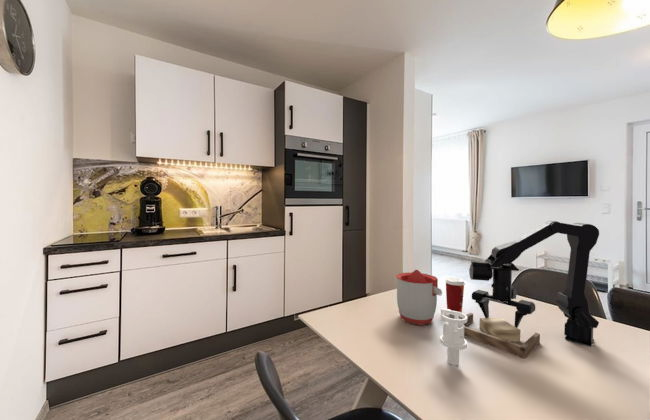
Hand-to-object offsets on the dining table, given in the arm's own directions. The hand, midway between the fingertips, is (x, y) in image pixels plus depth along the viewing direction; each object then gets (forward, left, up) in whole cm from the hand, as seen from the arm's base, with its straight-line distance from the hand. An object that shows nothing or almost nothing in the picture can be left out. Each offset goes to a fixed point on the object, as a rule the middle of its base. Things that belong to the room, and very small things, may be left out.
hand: (501, 324), depth 99 cm
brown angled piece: (0, +6, -2) cm, 7 cm away
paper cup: (+19, -4, -3) cm, 20 cm away
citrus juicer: (+24, +15, -3) cm, 29 cm away
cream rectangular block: (0, +3, -3) cm, 4 cm away
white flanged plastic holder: (+1, +33, -3) cm, 33 cm away
